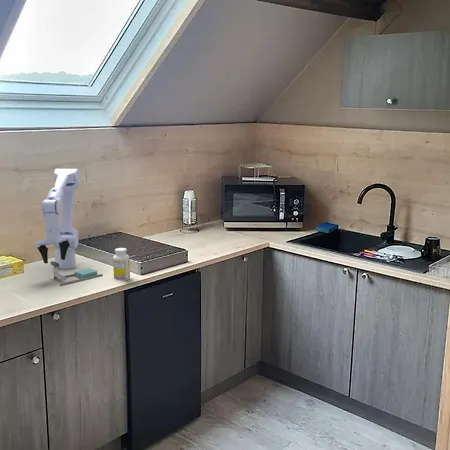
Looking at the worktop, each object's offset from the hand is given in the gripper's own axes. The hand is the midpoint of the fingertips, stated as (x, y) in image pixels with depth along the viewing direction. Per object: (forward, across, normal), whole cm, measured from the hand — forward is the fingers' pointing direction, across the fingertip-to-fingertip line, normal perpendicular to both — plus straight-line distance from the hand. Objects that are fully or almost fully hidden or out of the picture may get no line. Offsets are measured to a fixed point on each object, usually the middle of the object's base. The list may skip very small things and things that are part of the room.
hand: (54, 261), depth 234 cm
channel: (+8, +6, -6) cm, 12 cm away
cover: (+8, +11, -6) cm, 15 cm away
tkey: (+7, 0, -2) cm, 8 cm away
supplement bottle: (+8, +21, -17) cm, 28 cm away
